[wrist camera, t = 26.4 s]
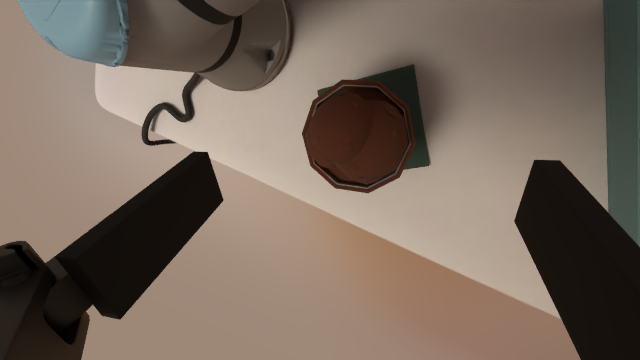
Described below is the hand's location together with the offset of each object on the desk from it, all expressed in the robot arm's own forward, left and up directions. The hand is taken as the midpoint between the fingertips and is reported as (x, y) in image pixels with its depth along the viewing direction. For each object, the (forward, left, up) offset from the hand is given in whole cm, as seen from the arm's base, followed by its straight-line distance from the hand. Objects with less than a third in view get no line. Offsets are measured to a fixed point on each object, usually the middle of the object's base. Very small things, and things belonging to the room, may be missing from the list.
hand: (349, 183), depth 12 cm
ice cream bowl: (-3, 0, -26) cm, 26 cm away
